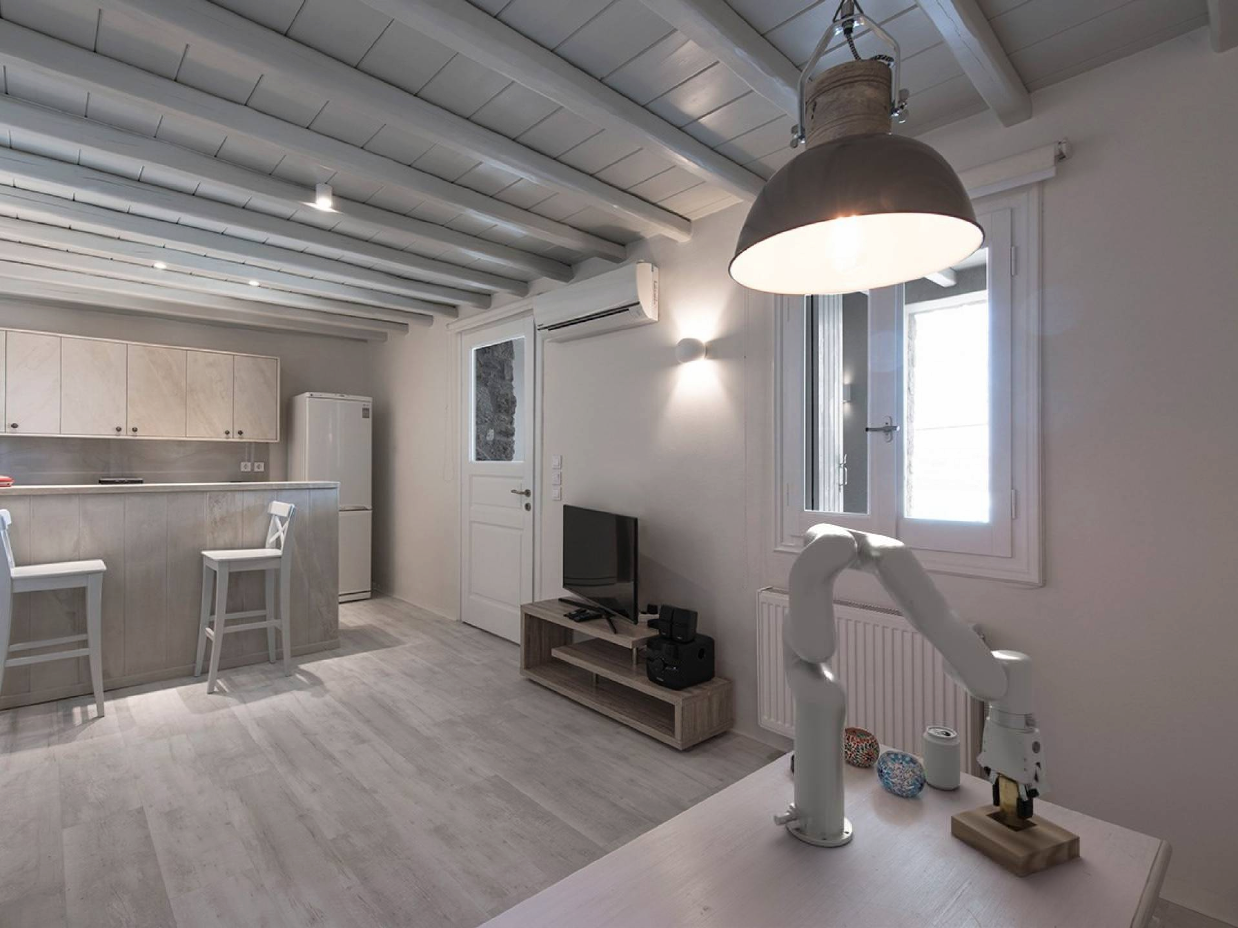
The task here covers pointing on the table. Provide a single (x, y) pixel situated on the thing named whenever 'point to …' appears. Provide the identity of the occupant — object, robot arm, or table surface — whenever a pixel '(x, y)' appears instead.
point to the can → (941, 757)
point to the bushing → (1009, 801)
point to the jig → (1015, 840)
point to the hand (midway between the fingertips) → (1012, 810)
